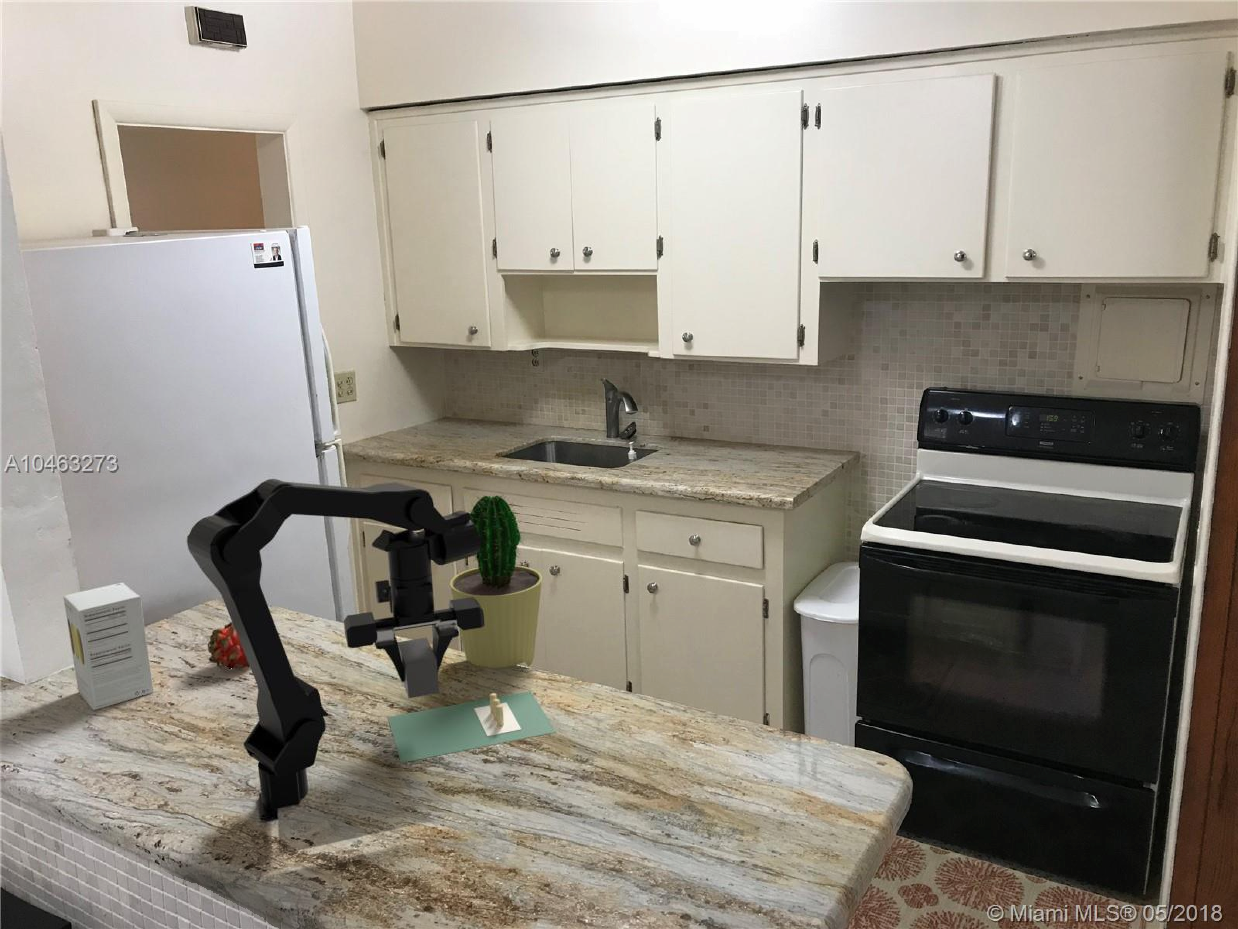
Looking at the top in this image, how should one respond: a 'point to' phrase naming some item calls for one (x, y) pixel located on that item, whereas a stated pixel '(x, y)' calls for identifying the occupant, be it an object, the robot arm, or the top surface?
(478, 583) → the potted cactus
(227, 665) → the dragon fruit
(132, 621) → the supplement box
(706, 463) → the top surface
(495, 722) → the board
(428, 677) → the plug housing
